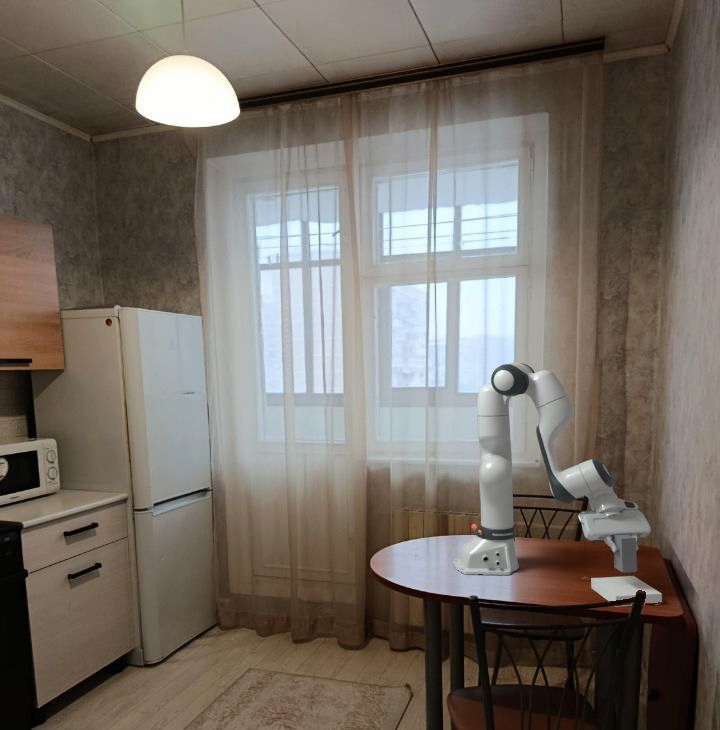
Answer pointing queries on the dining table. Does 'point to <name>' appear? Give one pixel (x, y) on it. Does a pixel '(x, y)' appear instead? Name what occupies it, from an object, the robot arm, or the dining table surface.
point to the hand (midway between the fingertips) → (626, 550)
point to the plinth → (624, 589)
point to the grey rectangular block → (625, 553)
